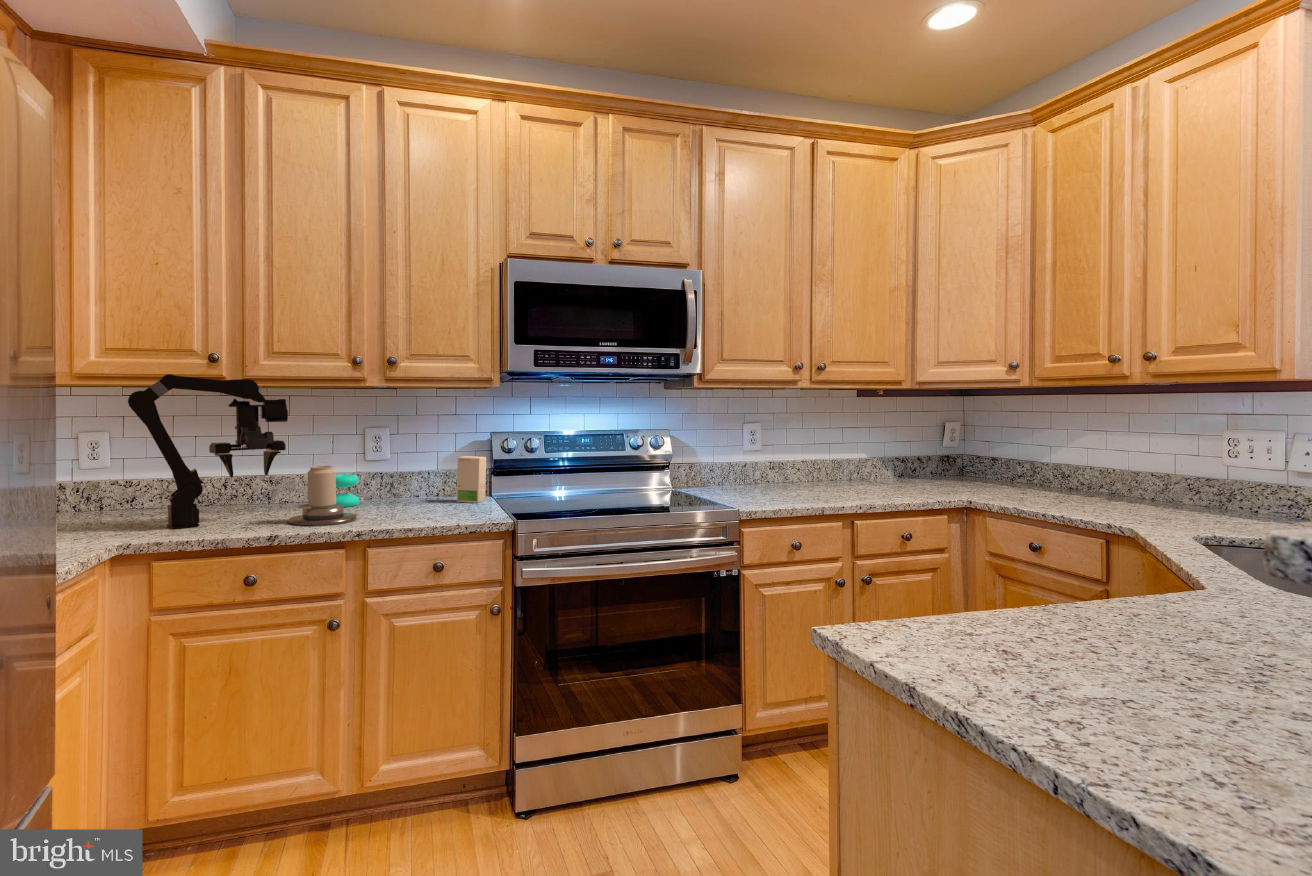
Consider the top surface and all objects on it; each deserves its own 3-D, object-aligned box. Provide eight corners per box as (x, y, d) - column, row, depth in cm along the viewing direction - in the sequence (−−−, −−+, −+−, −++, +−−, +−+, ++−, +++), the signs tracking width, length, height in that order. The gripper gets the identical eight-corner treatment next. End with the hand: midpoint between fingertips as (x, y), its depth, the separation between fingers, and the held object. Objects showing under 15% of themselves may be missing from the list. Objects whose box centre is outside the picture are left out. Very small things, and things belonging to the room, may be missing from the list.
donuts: (365, 474, 250) (346, 477, 240) (365, 504, 250) (346, 508, 240) (338, 473, 252) (319, 476, 242) (339, 502, 252) (319, 507, 243)
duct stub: (304, 528, 205) (304, 514, 205) (278, 520, 217) (278, 507, 217) (367, 520, 218) (367, 507, 218) (339, 513, 230) (339, 500, 230)
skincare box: (456, 502, 255) (455, 457, 254) (464, 499, 261) (463, 455, 260) (479, 503, 254) (479, 457, 253) (486, 500, 260) (486, 456, 259)
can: (314, 509, 212) (314, 468, 211) (303, 507, 217) (302, 466, 217) (340, 507, 218) (340, 466, 217) (329, 504, 223) (328, 464, 222)
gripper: (221, 424, 202) (223, 481, 203) (292, 422, 216) (294, 476, 217) (207, 423, 210) (209, 478, 211) (277, 421, 223) (278, 473, 224)
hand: (249, 476), depth 215 cm, fingers open, 9 cm apart
